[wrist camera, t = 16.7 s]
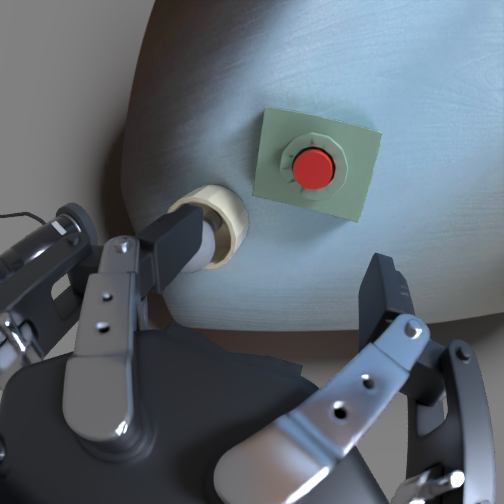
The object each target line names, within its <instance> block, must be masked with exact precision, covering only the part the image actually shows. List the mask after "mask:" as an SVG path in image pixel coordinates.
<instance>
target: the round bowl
mask: <svg viewBox="0 0 504 504" xmlns="http://www.w3.org/2000/svg"><path fill="white" fill-rule="evenodd" d="M185 204H190V205H194V206H199V207H202V208H203V212H204V214H203V215H205V214H206V213H207V212H214V213H216V214H217V215H218V216H219V217H220V219H221V227H220V228H219V229H218V230H217V231H216V235H215V237H214V240H215V251H214V254H213V257H212V259H211V261H210V262H209V264H208V265H207V266H206V267H205V268H203V269H217V268H219V267H221V266H223V265H225V264H226V263H228V262H229V261H230V259H231V258H232V256H233V255H234V253H235V252H236V250H237V249H238V248H239V246H240V245H241V243H242V242H243V240H244V239H245V237H246V235H247V233H248V229H249V216H248V212H247V210H246V207H245V205H244V204H243V202H242V201H241V199H240V198H239V197H238V196H237V195H236V194H235V193H233V192H232V191H231V190H229V189H227V188H225V187H222V186H219V185H204V186H201V187H199V188H196V189H195V190H193V191H191V192H190V193H188V194H187V195H185V196H184V197H182V198H181V199H179V200H178V201H177V202H176V203H174V204H173V205H172V206H171V207H170V208H169V211H168V213H171V212H175V211H176V210H178V209H179V208H180V207H182V206H183V205H185ZM168 213H167V214H168Z"/></svg>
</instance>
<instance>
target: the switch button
mask: <svg viewBox="0 0 504 504" xmlns="http://www.w3.org/2000/svg"><path fill="white" fill-rule="evenodd" d="M293 174H294V177H295V179H296V181H297V182H298V183H299V184H300V185H301V186H303V187H305V188H307V189H313V190H315V189H320V188H322V187H324V186H325V185H327V184H328V182H329V181H330V179H331V176H332V162H331V160H330V158H329V157H328V156H327V155H326V154H325V153H324V152H322V151H320V150H317V149H309V150H306V151H304V152H302V153H301V154H300V155H299V156H298V158H297V159H296V160H295V162H294V165H293Z"/></svg>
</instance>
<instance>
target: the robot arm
mask: <svg viewBox="0 0 504 504" xmlns="http://www.w3.org/2000/svg"><path fill="white" fill-rule="evenodd" d="M203 214H204V212H203V208H202V207H199V206H194V205H190V204H185V205H183V206H182V207H180V208H179V209H178V210H176V211H175V212H171V213H168V214H165V215H163V216H161V217H160V218H159V219H157V220H156V221H154V222H153V223H152V224H151V225H149V226H148V227H146V228H145V229H143V230H142V231H141V232H139V233H138V234H137V235H135V236H134V237H132V236H118V237H115V238H112V239H111V240H109V241H108V242H107V243H106V244H105V246H97V245H91V241H90V236H89V235H88V234H87V233H84V232H83V230H82V228H81V226H80V224H79V223H78V221H77V220H76V219H75V218H74V217H73V216H72V215H70V214H68V213H63V214H61V215H59V216H58V217H56V218H54V219H53V220H51V221H49V222H48V223H45V222H44V221H43V220H42V219H41V218H39V217H37V216H35V215H33V214H31V213H29V212H22V213H14V214H7V215H0V218H6V217H15V216H24V215H26V216H29V217H32V218H34V219H36V220H37V221H39V222H40V223H42V225H43V226H41V227H40V228H38V229H37V230H35V231H33V232H32V233H30V234H29V235H27V236H26V237H25V238H23V239H22V240H20V241H19V242H18V243H16V244H15V245H13V246H12V247H11V248H9V249H8V250H6V251H5V252H3V253H2V254H1V255H0V389H1V390H2V391H3V394H2V398H1V403H0V504H390V503H389V502H388V500H387V498H386V496H385V495H384V493H383V491H382V490H381V488H380V486H379V484H378V483H377V481H376V479H375V478H374V476H373V474H372V473H371V471H370V469H369V467H368V466H367V464H366V462H365V461H364V459H363V457H362V455H361V454H360V452H359V450H358V449H357V447H356V444H357V443H358V441H359V440H360V439H361V438H362V437H363V436H364V435H365V434H366V432H367V431H368V430H369V429H370V428H371V426H372V425H373V424H374V423H375V422H376V420H377V419H378V418H379V417H380V416H381V414H382V413H383V412H384V411H385V409H386V408H387V407H388V405H389V404H390V403H391V401H392V400H393V399H394V397H395V396H396V395H397V393H398V392H401V393H403V394H405V395H407V398H408V453H407V469H406V480H405V481H404V482H403V483H401V485H400V486H399V487H398V489H397V491H396V493H395V496H394V497H393V498H392V499H391V504H495V493H496V470H495V451H494V441H493V433H492V425H491V418H490V412H489V407H488V402H487V397H486V392H485V387H484V383H483V379H482V375H481V371H480V368H479V364H478V361H477V357H476V354H475V352H474V351H473V349H472V348H471V347H470V346H469V345H468V344H467V343H466V342H464V341H462V340H458V339H455V340H452V341H451V342H450V343H449V344H448V346H447V347H444V346H442V345H440V344H438V343H436V342H434V341H433V340H431V339H430V331H429V329H428V327H427V325H426V324H425V323H424V322H423V321H422V320H421V319H420V318H418V317H416V316H415V312H414V308H413V304H412V300H411V297H410V292H409V290H408V285H407V282H406V279H405V278H404V277H403V275H402V274H401V273H400V272H399V271H396V270H395V267H394V263H393V259H392V257H389V256H385V255H382V254H379V253H375V254H374V255H373V257H372V259H371V262H370V264H369V267H368V269H367V271H366V274H365V276H364V278H363V281H362V283H361V286H360V290H359V296H358V299H359V354H358V355H357V356H355V358H353V359H352V360H351V361H350V362H349V363H348V364H347V365H346V366H345V367H344V368H343V369H342V370H341V371H339V372H338V373H337V374H336V375H335V376H334V377H333V378H332V379H331V380H329V381H328V382H327V383H326V384H325V385H323V386H322V387H321V388H320V389H319V388H318V387H317V386H316V385H315V384H313V383H312V382H310V381H309V380H307V379H306V378H304V377H302V376H300V374H301V370H302V365H299V364H295V363H291V362H288V361H284V360H281V359H277V358H273V357H270V356H262V355H250V354H242V353H233V352H230V351H227V350H226V349H224V348H222V347H221V346H219V345H218V344H216V343H214V342H213V341H211V340H210V339H208V338H206V337H205V336H203V335H202V334H200V333H197V332H195V331H192V330H189V329H187V328H184V327H182V326H179V325H176V324H174V323H170V324H169V325H168V326H167V328H166V329H165V330H164V331H163V330H148V317H147V297H146V294H147V293H148V291H152V292H154V293H157V294H159V295H160V294H161V293H162V292H163V290H164V289H165V288H166V287H167V286H168V285H169V284H170V282H171V281H172V280H173V279H174V278H175V277H176V276H177V275H178V273H179V272H180V271H181V270H182V269H183V268H184V267H185V266H186V264H187V263H188V262H189V261H190V260H191V259H192V258H193V257H194V256H195V254H196V253H197V252H198V251H199V249H200V247H201V244H202V236H203ZM66 273H67V274H68V278H69V281H70V284H71V285H70V286H69V287H68V288H67V289H66V290H65V291H64V292H62V293H61V294H60V295H59V296H58V297H57V298H56V299H55V300H53V299H52V296H51V289H52V286H53V285H54V283H55V282H57V281H58V280H59V279H60V278H61V277H63V276H64V275H65V274H66ZM78 320H79V323H78V329H77V335H76V341H75V348H74V351H73V352H70V353H67V354H63V355H60V356H57V357H53V358H50V359H47V360H43V359H44V357H45V356H46V355H47V354H48V353H49V352H50V350H51V349H52V348H53V347H54V346H55V345H56V344H57V342H58V341H60V339H61V338H62V337H63V336H64V335H65V334H66V333H67V332H68V331H69V330H70V329H71V328H72V327H73V326H74V325H75V323H76V322H77V321H78ZM445 397H447V405H448V413H447V417H446V419H445V420H444V411H443V402H442V400H443V399H444V398H445Z"/></svg>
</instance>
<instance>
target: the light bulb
mask: <svg viewBox="0 0 504 504" xmlns="http://www.w3.org/2000/svg"><path fill="white" fill-rule="evenodd" d="M220 227H221V219H220V217H219V216H218V215H217V214H216V213H214V212H207V213H206V214H205V215H203V236H202V244H201V247H200V249H199V251H198V252H197V253H196V254H195V256H194V257H193V258H192V259H191V260H190V261H189V262H188V263H187V264H186V266H185V267H184V268H183V269H182V270H181V271H180V272H181V273H194V272H198V271H200V270H202V269H203V268H205V267H206V266H207V265H208V264H209V262H210V261H211V259H212V257H213V254H214V251H215V240H214V237H215V235H216V231H217V230H218V229H219V228H220Z"/></svg>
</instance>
